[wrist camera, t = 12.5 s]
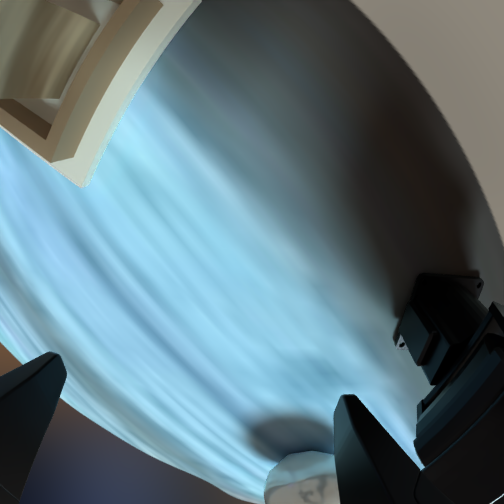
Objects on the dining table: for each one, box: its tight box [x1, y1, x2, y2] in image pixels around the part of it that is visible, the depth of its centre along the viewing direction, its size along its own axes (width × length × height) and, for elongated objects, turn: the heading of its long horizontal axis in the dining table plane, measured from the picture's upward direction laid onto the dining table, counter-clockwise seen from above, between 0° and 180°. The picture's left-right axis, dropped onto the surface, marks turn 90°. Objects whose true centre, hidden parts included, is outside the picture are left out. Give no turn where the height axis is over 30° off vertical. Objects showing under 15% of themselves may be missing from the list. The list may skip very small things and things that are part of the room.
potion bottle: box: [264, 450, 340, 504], centre depth 25 cm, size 9×10×15 cm
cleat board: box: [0, 0, 202, 188], centre depth 12 cm, size 14×14×6 cm
